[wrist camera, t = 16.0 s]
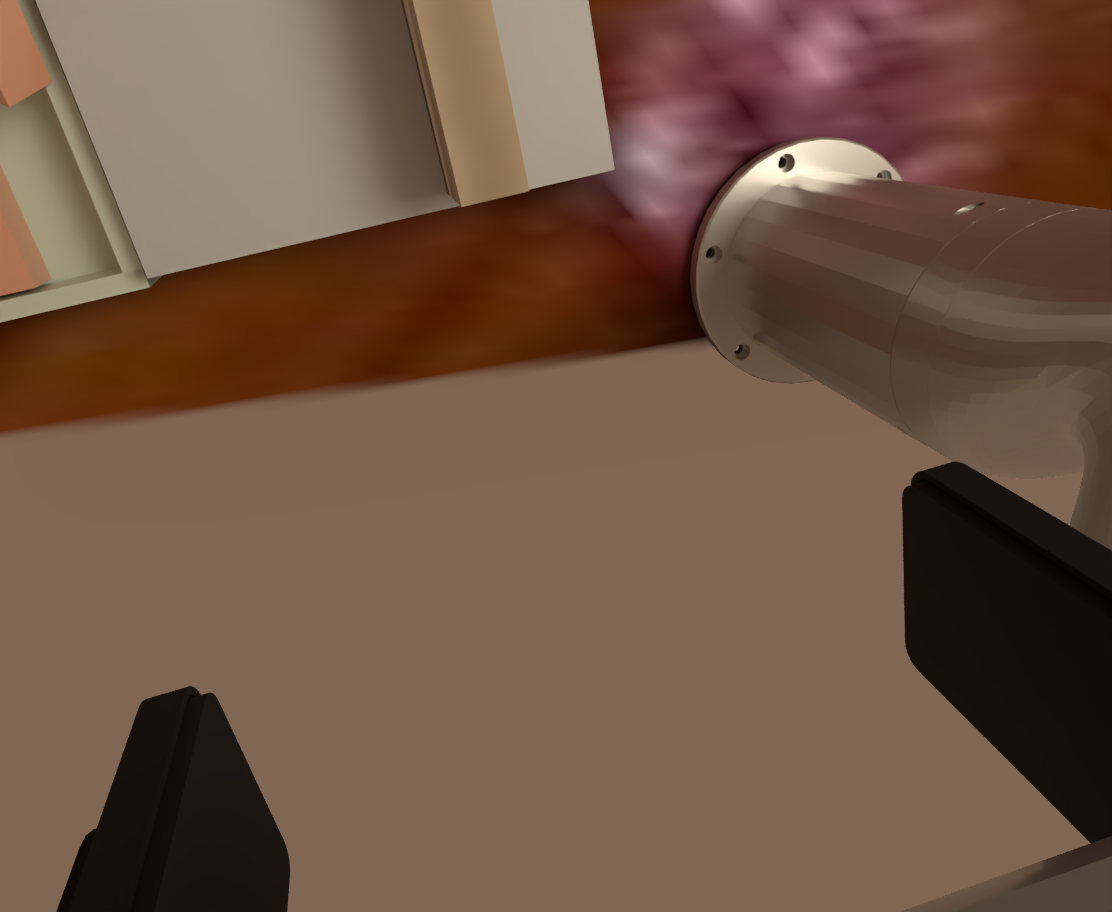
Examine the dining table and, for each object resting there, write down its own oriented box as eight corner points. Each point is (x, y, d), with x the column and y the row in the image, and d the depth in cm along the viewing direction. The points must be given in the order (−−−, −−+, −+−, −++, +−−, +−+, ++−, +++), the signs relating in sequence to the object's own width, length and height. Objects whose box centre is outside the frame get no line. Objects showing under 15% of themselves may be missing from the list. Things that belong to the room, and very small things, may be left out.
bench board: (531, -191, 34) (552, -225, 31) (590, 163, 40) (614, 169, 37) (24, -102, 32) (-17, -128, 28) (166, 261, 38) (147, 278, 34)
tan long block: (428, -190, 30) (442, -241, 26) (506, 179, 36) (529, 191, 31) (357, -177, 30) (359, -227, 26) (447, 193, 36) (461, 207, 31)
